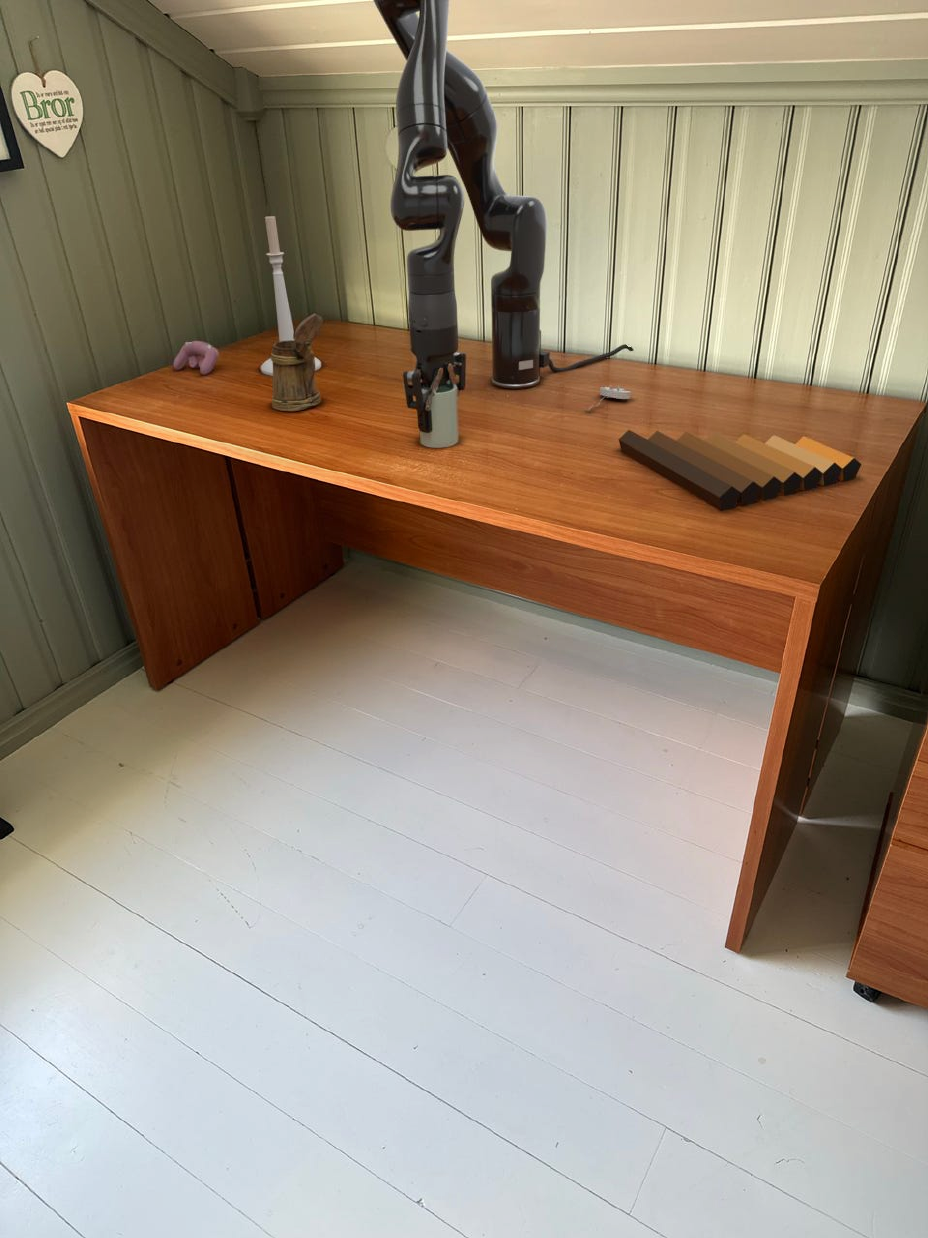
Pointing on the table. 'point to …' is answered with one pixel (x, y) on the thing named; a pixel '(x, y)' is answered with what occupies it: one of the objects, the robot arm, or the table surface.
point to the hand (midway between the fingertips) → (438, 424)
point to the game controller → (614, 393)
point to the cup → (442, 419)
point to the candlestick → (279, 293)
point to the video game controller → (197, 356)
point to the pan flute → (740, 465)
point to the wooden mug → (296, 368)
